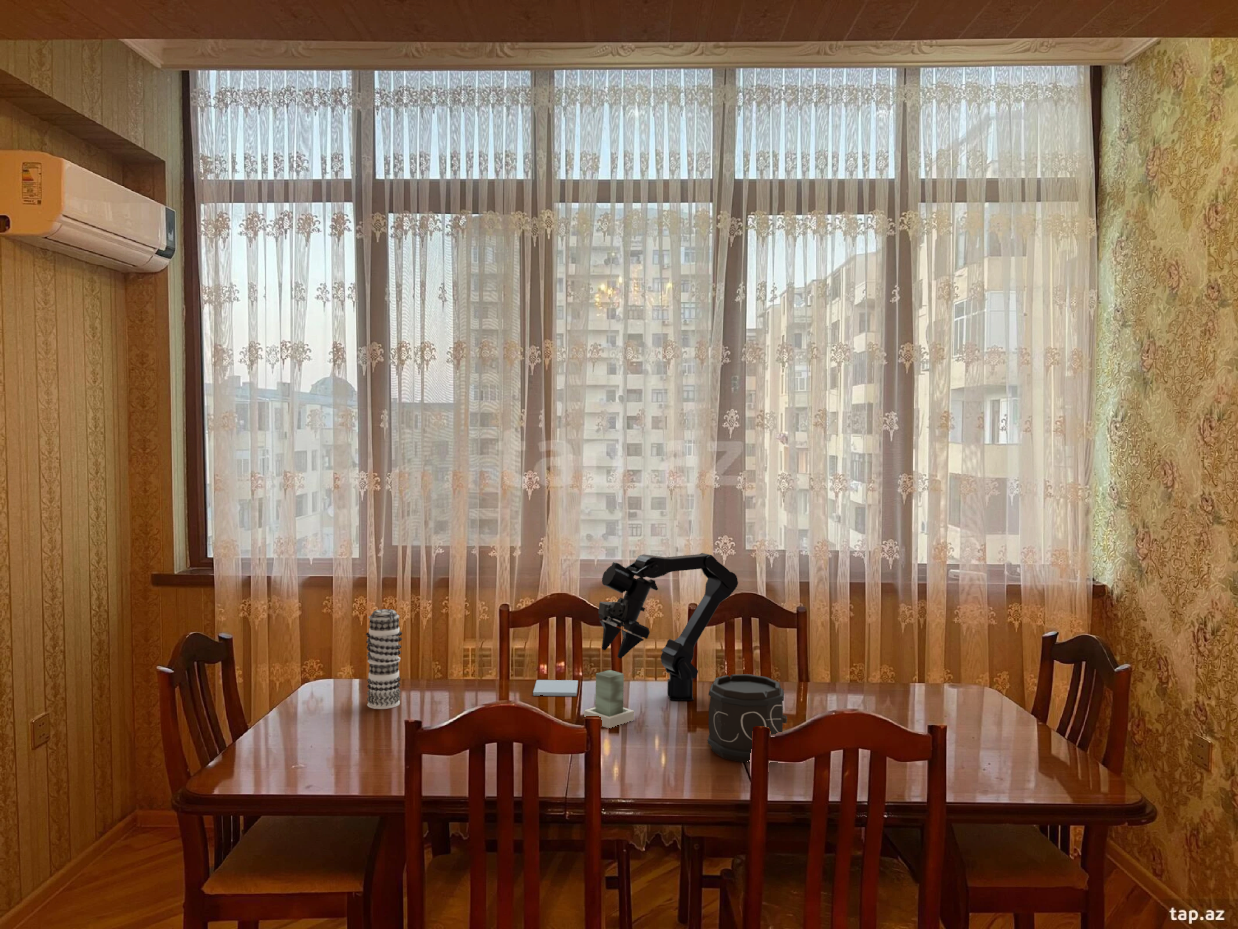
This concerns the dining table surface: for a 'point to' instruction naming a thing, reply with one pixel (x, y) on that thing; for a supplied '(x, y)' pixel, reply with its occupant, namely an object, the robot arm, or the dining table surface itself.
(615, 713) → the green block
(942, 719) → the dining table surface
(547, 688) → the slate pad
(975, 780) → the dining table surface
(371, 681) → the decorative candle
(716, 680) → the dark grey coffee canister
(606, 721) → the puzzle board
